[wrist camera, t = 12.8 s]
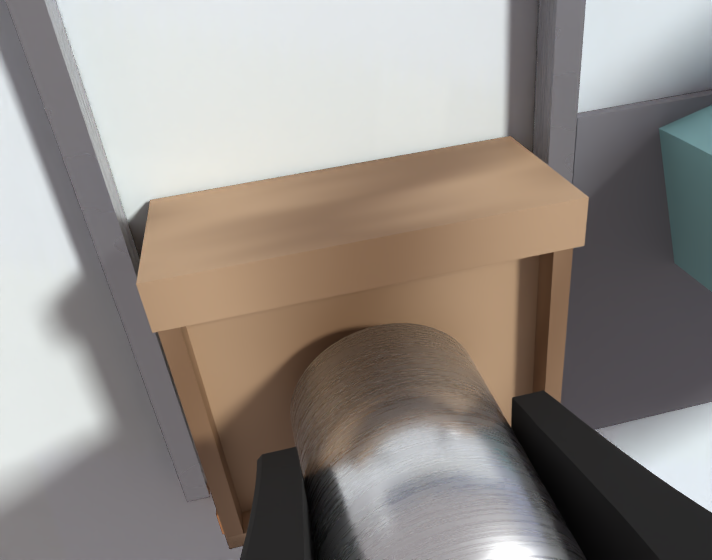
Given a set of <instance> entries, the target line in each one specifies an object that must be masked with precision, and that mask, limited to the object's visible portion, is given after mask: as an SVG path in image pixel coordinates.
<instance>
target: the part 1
mask: <svg viewBox="0 0 712 560" xmlns="http://www.w3.org/2000/svg"><path fill="white" fill-rule="evenodd" d="M290 414H291V424H292V430H293V436H294V442H295V447H296V446H297V450H298V455H299V460H300V464H301V469H302V474H303V478H304V484H305V490H306V495H307V501H308V507H309V512H310V518H311V524H312V533H313V543H314V553H315V560H587V559H586V557H585V556H584V554H583V552H582V550H581V549H580V547H579V545H578V543H577V542H576V540H575V538H574V536H573V535H572V533H571V531H570V529H569V528H568V526H567V524H566V522H565V521H564V519H563V517H562V516H561V514H560V512H559V510H558V509H557V507H556V505H555V503H554V502H553V500H552V498H551V496H550V495H549V493H548V491H547V489H546V488H545V486H544V484H543V482H542V481H541V479H540V477H539V476H538V474H537V472H536V470H535V469H534V467H533V465H532V463H531V462H530V460H529V458H528V456H527V455H526V453H525V451H524V449H523V448H522V446H521V444H520V442H519V441H518V439H517V437H516V435H515V434H514V432H513V430H512V429H511V427H510V425H509V423H508V422H507V420H506V418H505V416H504V415H503V413H502V411H501V409H500V408H499V406H498V404H497V402H496V401H495V399H494V397H493V395H492V394H491V392H490V390H489V388H488V387H487V385H486V383H485V382H484V380H483V378H482V376H481V375H480V373H479V371H478V369H477V368H476V366H475V364H474V362H473V361H472V359H471V357H470V356H469V354H468V352H467V351H466V350H465V348H464V347H463V346H462V345H461V344H460V343H459V342H458V341H456V340H455V339H454V338H453V337H451V336H450V335H448V334H446V333H444V332H443V331H440V330H438V329H435V328H433V327H429V326H425V325H421V324H413V323H391V324H382V325H377V326H373V327H369V328H366V329H363V330H360V331H357V332H354V333H352V334H350V335H348V336H346V337H344V338H342V339H340V340H339V341H337V342H335V343H333V344H332V345H331V346H329V347H328V348H327V349H325V350H324V351H323V352H321V353H320V354H319V355H318V356H317V357H316V358H315V359H314V360H313V361H312V362H311V363H310V365H309V366H308V367H307V368H306V369H305V371H304V372H303V374H302V376H301V377H300V379H299V381H298V383H297V385H296V387H295V389H294V393H293V396H292V400H291V408H290Z"/></svg>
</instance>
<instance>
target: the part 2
mask: <svg viewBox="0 0 712 560" xmlns="http://www.w3.org/2000/svg"><path fill="white" fill-rule="evenodd" d="M659 134H660V142H661V151H662V160H663V168H664V177H665V185H666V194H667V203H668V211H669V220H670V229H671V237H672V246H673V255H674V263H675V264H676V265H678V266H679V267H680V268H682V269H683V270H684V271H685V272H687V273H688V274H689V275H691V276H692V277H693V278H694V279H696V280H697V281H698V282H699V283H701V284H702V285H703V286H705V287H706V288H707V289H708V290H710V291H711V292H712V105H710V106H708V107H705V108H703V109H701V110H699V111H696V112H694V113H692V114H690V115H687V116H685V117H683V118H681V119H678V120H676V121H674V122H672V123H669V124H667V125H665V126H663V127H660V128H659Z"/></svg>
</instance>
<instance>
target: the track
mask: <svg viewBox="0 0 712 560" xmlns="http://www.w3.org/2000/svg"><path fill="white" fill-rule="evenodd" d="M5 1H6V4H7V7H8V9H9V12H10V15H11V18H12V20H13V23H14V26H15V29H16V31H17V34H18V37H19V40H20V42H21V45H22V48H23V51H24V53H25V56H26V59H27V62H28V64H29V67H30V70H31V73H32V75H33V78H34V81H35V84H36V86H37V89H38V92H39V95H40V97H41V100H42V103H43V106H44V108H45V111H46V114H47V117H48V120H49V122H50V125H51V128H52V131H53V133H54V136H55V139H56V142H57V144H58V147H59V150H60V153H61V155H62V158H63V161H64V164H65V166H66V169H67V172H68V175H69V177H70V180H71V183H72V186H73V188H74V191H75V194H76V197H77V199H78V202H79V205H80V208H81V210H82V213H83V216H84V219H85V221H86V224H87V227H88V230H89V232H90V235H91V238H92V241H93V244H94V246H95V249H96V252H97V255H98V257H99V260H100V263H101V266H102V268H103V271H104V274H105V277H106V279H107V282H108V285H109V288H110V290H111V293H112V296H113V299H114V301H115V304H116V307H117V310H118V312H119V315H120V318H121V321H122V323H123V326H124V329H125V332H126V334H127V337H128V340H129V343H130V345H131V348H132V351H133V354H134V356H135V359H136V362H137V365H138V367H139V370H140V373H141V376H142V379H143V381H144V384H145V387H146V390H147V392H148V395H149V398H150V401H151V403H152V406H153V409H154V412H155V414H156V417H157V420H158V423H159V425H160V428H161V431H162V434H163V436H164V439H165V442H166V445H167V447H168V450H169V453H170V456H171V458H172V461H173V464H174V467H175V469H176V472H177V475H178V478H179V480H180V483H181V486H182V489H183V491H184V494H185V497H186V500H187V502H189V501H193V500H198V499H202V498H206V497H210V488H209V485H208V482H207V479H206V476H205V473H204V470H203V467H202V464H201V461H200V458H199V455H198V452H197V449H196V446H195V443H194V440H193V437H192V434H191V431H190V428H189V425H188V422H187V419H186V416H185V413H184V410H183V407H182V404H181V401H180V398H179V395H178V392H177V389H176V386H175V383H174V380H173V376H172V373H171V370H170V367H169V364H168V361H167V358H166V355H165V352H164V349H163V346H162V343H161V340H160V337H159V334H158V332H154V333H152V330H151V327H150V324H149V321H148V318H147V315H146V312H145V309H144V306H143V303H142V300H141V297H140V294H139V291H138V288H137V285H136V282H137V276H138V270H139V264H140V259H139V256H138V252H137V249H136V246H135V243H134V240H133V237H132V234H131V231H130V228H129V225H128V222H127V219H126V216H125V212H124V209H123V206H122V203H121V200H120V197H119V194H118V191H117V188H116V185H115V182H114V179H113V175H112V172H111V169H110V166H109V163H108V160H107V157H106V154H105V151H104V148H103V145H102V142H101V139H100V135H99V132H98V129H97V126H96V123H95V120H94V117H93V114H92V111H91V108H90V105H89V102H88V99H87V95H86V92H85V89H84V86H83V83H82V80H81V77H80V74H79V71H78V68H77V65H76V62H75V59H74V55H73V52H72V49H71V46H70V43H69V40H68V37H67V34H66V31H65V28H64V25H63V22H62V19H61V15H60V12H59V9H58V6H57V3H56V0H5ZM585 5H586V0H539V10H538V35H537V60H536V85H535V110H534V135H533V154H534V155H535V156H537V157H538V158H539V159H541V160H542V161H543V162H544V163H546V164H547V165H548V166H550V167H551V168H552V169H553V170H555V171H556V172H557V173H558V174H560V175H561V176H562V177H564V178H565V179H566V180H567V181H569V182H570V183H571V184H572V177H573V164H574V151H575V137H576V124H577V111H578V98H579V84H580V71H581V58H582V44H583V31H584V18H585ZM216 516H217V519H218V522H219V525H220V528H221V531H222V534H224V531H223V528H222V525H221V522H220V519H219V516H218V513H217V510H216Z"/></svg>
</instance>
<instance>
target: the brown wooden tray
mask: <svg viewBox="0 0 712 560" xmlns="http://www.w3.org/2000/svg"><path fill="white" fill-rule="evenodd" d="M588 201H589V197H588V196H587V195H585V194H584V193H583V192H582V191H580V190H579V189H578V188H576V187H575V186H574V185H573V184H571V183H570V182H569V181H567V180H566V179H565V178H564V177H562V176H561V175H560V174H558V173H557V172H556V171H555V170H553V169H552V168H551V167H550V166H548V165H547V164H546V163H544V162H543V161H542V160H541V159H539V158H538V157H537V156H535V155H534V154H533V153H532V152H530V151H529V150H528V149H526V148H525V147H524V146H523V145H521V144H520V143H519V142H517V141H516V140H515V139H514V138H512V137H511V136H508V137H502V138H496V139H491V140H485V141H480V142H474V143H468V144H463V145H457V146H451V147H446V148H440V149H435V150H429V151H423V152H418V153H412V154H406V155H401V156H395V157H390V158H384V159H378V160H373V161H367V162H361V163H356V164H350V165H345V166H339V167H333V168H328V169H322V170H316V171H311V172H305V173H300V174H294V175H288V176H283V177H277V178H271V179H266V180H260V181H255V182H249V183H243V184H238V185H232V186H226V187H221V188H215V189H209V190H204V191H198V192H193V193H187V194H181V195H176V196H170V197H164V198H159V199H153V200H150V204H149V210H148V216H147V222H146V228H145V234H144V240H143V246H142V252H141V258H140V264H139V270H138V276H137V282H136V285H137V288H138V291H139V294H140V297H141V300H142V303H143V306H144V309H145V312H146V315H147V318H148V321H149V324H150V327H151V330H152V333H154V332H158V334H159V337H160V340H161V343H162V346H163V349H164V352H165V355H166V358H167V361H168V364H169V367H170V370H171V373H172V376H173V380H174V383H175V386H176V389H177V392H178V395H179V398H180V401H181V404H182V407H183V410H184V413H185V416H186V419H187V422H188V425H189V428H190V431H191V434H192V437H193V440H194V443H195V446H196V449H197V452H198V455H199V458H200V461H201V464H202V467H203V470H204V473H205V476H206V479H207V482H208V485H209V488H210V491H211V494H212V498H213V501H214V504H215V507H216V510H217V513H218V516H219V519H220V522H221V525H222V528H223V531H224V534H225V537H226V540H227V543H228V546H229V549H232V548H236V547H240V546H243V545H244V541H245V537H246V533H247V529H248V524H249V519H250V514H251V509H252V503H253V497H254V490H255V482H256V472H257V460H258V459H259V458H260V456H261V455H262V454H266V453H270V452H274V451H279V450H283V449H288V448H292V447H295V442H294V436H293V430H292V424H291V414H290V408H291V400H292V396H293V393H294V389H295V387H296V385H297V383H298V381H299V379H300V377H301V376H302V374H303V372H304V371H305V369H306V368H307V367H308V366H309V365H310V363H311V362H312V361H313V360H314V359H315V358H316V357H317V356H318V355H319V354H320V353H321V352H323V351H324V350H325V349H327V348H328V347H329V346H331V345H332V344H333V343H335V342H337V341H339V340H340V339H342V338H344V337H346V336H348V335H350V334H352V333H354V332H357V331H360V330H363V329H366V328H369V327H373V326H377V325H382V324H391V323H413V324H421V325H425V326H429V327H433V328H435V329H438V330H440V331H443V332H444V333H446V334H448V335H450V336H451V337H453V338H454V339H455V340H456V341H458V342H459V343H460V344H461V345H462V346H463V347H464V348H465V350H466V351H467V352H468V354H469V356H470V357H471V359H472V361H473V362H474V364H475V366H476V368H477V369H478V371H479V373H480V375H481V376H482V378H483V380H484V382H485V383H486V385H487V387H488V388H489V390H490V392H491V394H492V395H493V397H494V399H495V401H496V402H497V404H498V406H499V408H500V409H501V411H502V413H503V415H504V416H505V418H506V420H507V422H508V423H509V425H510V427H511V415H512V397H516V396H521V395H525V394H530V393H534V392H538V391H543V390H544V391H545V392H547V393H548V394H549V395H551V396H552V397H553V398H555V399H556V400H557V401H558V402H560V403H561V391H562V379H563V367H564V354H565V342H566V330H567V317H568V305H569V293H570V280H571V268H572V255H573V248H576V247H581V246H584V244H585V233H586V222H587V212H588Z"/></svg>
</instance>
